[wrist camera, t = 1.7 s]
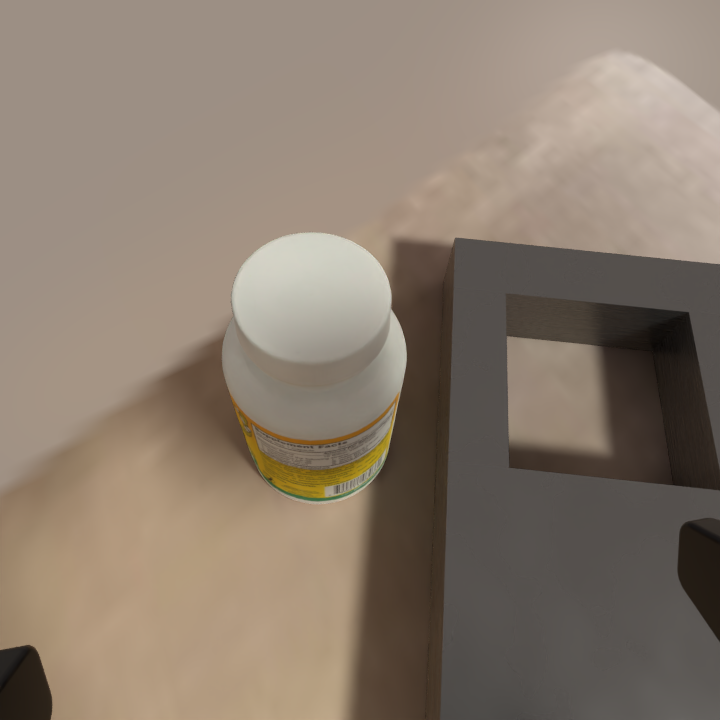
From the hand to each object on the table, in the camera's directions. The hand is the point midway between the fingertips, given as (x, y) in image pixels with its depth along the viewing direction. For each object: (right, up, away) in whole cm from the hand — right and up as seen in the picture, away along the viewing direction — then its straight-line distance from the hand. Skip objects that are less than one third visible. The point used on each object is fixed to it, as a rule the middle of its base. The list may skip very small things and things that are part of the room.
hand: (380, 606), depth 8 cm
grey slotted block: (+8, -2, +14) cm, 17 cm away
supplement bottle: (-2, 0, +15) cm, 15 cm away
